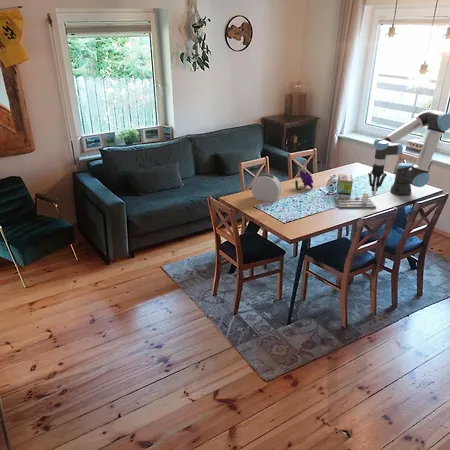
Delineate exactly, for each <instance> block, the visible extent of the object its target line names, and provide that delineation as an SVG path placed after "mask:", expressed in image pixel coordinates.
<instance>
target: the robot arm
mask: <svg viewBox="0 0 450 450" xmlns="http://www.w3.org/2000/svg"><path fill="white" fill-rule="evenodd" d="M424 127H427V130H426V131H427V132H428V133H427V135H426V137H425V140H424V142H423V144H422V148H421V150H420V153H419V155H418V157H417V160H416V162H415V164H414V163H409V162H404V163H403V162H402V163H400V162H399V163H398V164H397V166H396V170H395V175H394V176H395V177H394V181H393V184H392V185H391V187H390V190H389V191H390V193H391V194H392V195H393V194H394V195H396V196H403V197H405V196H410V195H411V194H412V187H416V188H423V187H425V186H426V185H427V184H428V182H429V181H430V178H431V177H430V174H429V172H430V169H429V165H430V163H431V161H432V159H433V156H434V154H435V151H436V149H437V147H438V144H439V141H440V139H441V136H442V135H443V134H445V132H447V131H448V130H449V129H450V113H448V112H446V111H445V112H444V111H440V110H437V109H427V110H425V111H422V112H420V113H418V114H416V115H415V116H413V117H412V119H411V120H409V121H408V122H406V123H404V124H403V125H401V126H399V127H398V128H397V129H395V130H393V131H392V132H391V133H390V132H389V134H387V135H385V136H384V137H382V138H381V137H379V138H375V139H374V141H373V147H374V148H375V151H374V158H373V164H372V170H371V171H370V172H368V173H367V175H368V180H369V181H368V182H369V186H370V187H371V192H372V193H371V196H373V197H376V194H377V192H378V191H379V190H378V189H379V187H382V186H383V182H384V181H385V178H386V177H387V175H388V174H387V173H386V172H385V171H384V170H385V164H386V159H387V156H397V155H400V154H402V153H403V149H404V147H403V144H402V143H397V142H398V141H400V140H402V139H403V138H405V137H406V136H408V135H410V134H411V133H413V132H415V131H416V130H417V129H422V128H424ZM372 176H373V177H372Z"/></svg>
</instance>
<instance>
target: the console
mask: <svg viewBox="0 0 450 450" xmlns="http://www.w3.org/2000/svg"><path fill="white" fill-rule="evenodd" d="M362 199H363V196H362V198H360V197H359V196H355V198H350V199H340V198H334V203H335V204H336V206H337V205H338V206H337V207H338V209H340V210H341V209H343V210H346V209H347V210H349V209H351V210H353V209H357V210H358V209H359V210H360V209H363V210H365V209H367V210H368V209H370V210H371V209H377V206H376V205H375V203H374V202H373V201H372V199H371V198H368V202H367V203H363V202H362Z"/></svg>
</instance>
